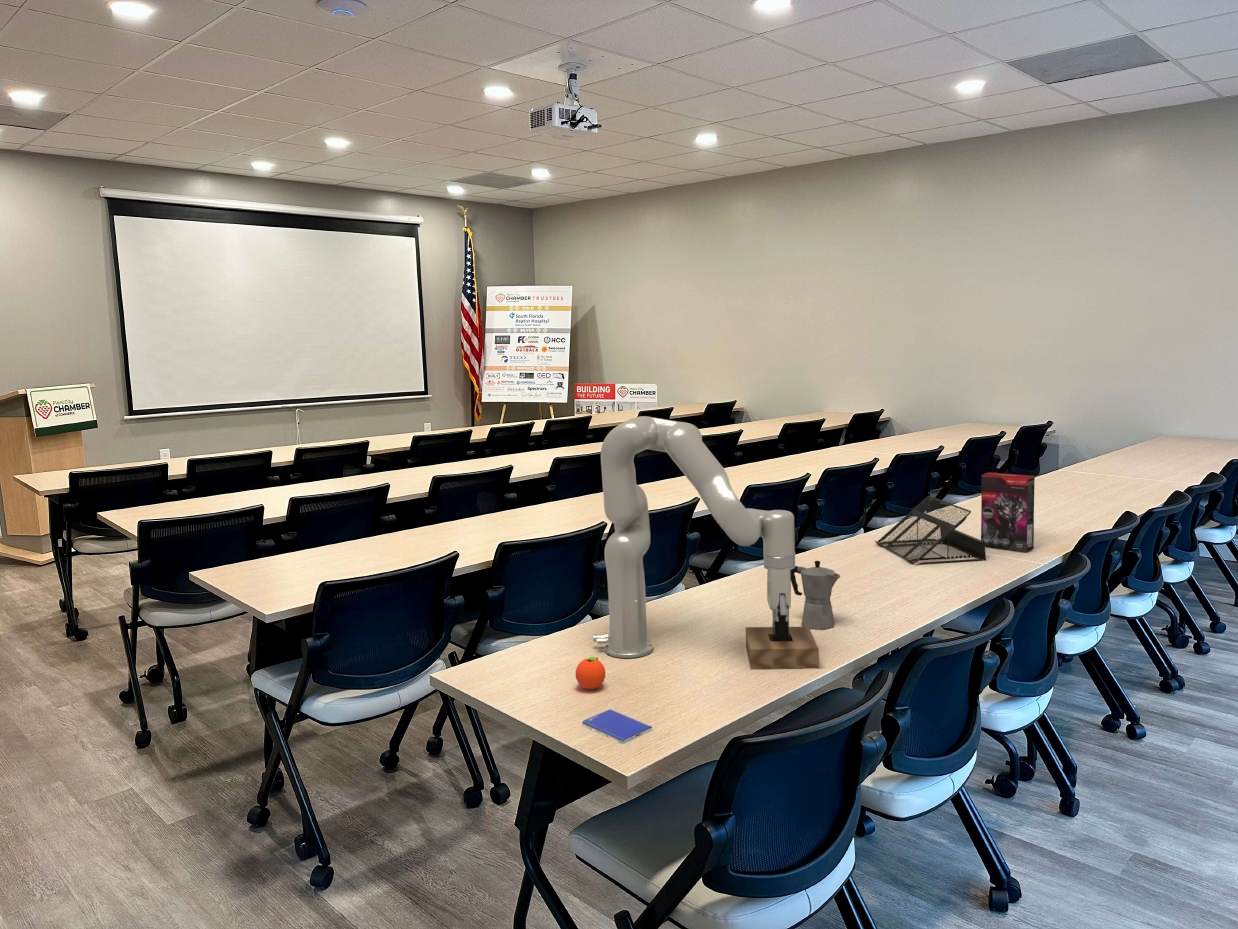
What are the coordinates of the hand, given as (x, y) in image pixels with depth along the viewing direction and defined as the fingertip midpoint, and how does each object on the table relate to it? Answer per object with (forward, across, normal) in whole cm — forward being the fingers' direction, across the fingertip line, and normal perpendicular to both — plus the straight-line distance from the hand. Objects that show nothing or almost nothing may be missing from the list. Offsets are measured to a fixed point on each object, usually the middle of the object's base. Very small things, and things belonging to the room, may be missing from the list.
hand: (780, 633), depth 205 cm
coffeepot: (+6, -25, +12) cm, 28 cm away
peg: (+4, 0, 0) cm, 4 cm away
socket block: (+6, 0, 0) cm, 6 cm away
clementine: (+6, +18, -45) cm, 49 cm away
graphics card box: (+7, -108, +94) cm, 143 cm away
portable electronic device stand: (+7, -105, +65) cm, 123 cm away
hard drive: (+7, +39, -38) cm, 55 cm away
